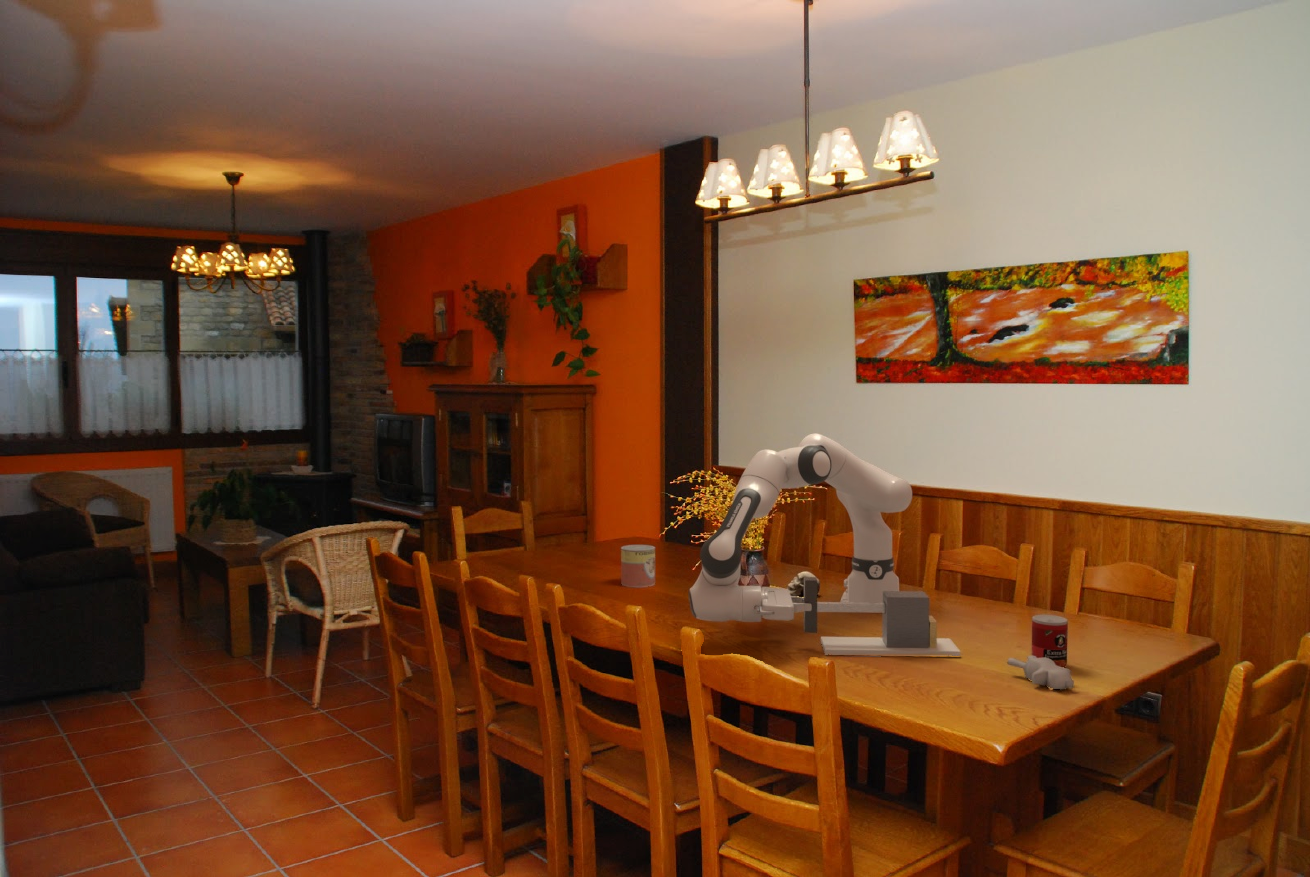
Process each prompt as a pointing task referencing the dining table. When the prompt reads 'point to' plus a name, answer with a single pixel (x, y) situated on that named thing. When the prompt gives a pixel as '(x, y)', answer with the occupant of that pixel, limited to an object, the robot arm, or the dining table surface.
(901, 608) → the block
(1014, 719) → the dining table surface
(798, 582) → the skull
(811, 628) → the shaft
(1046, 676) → the bunny figurine
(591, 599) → the dining table surface
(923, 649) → the base plate
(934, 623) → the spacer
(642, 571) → the canned food
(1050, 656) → the canned food
